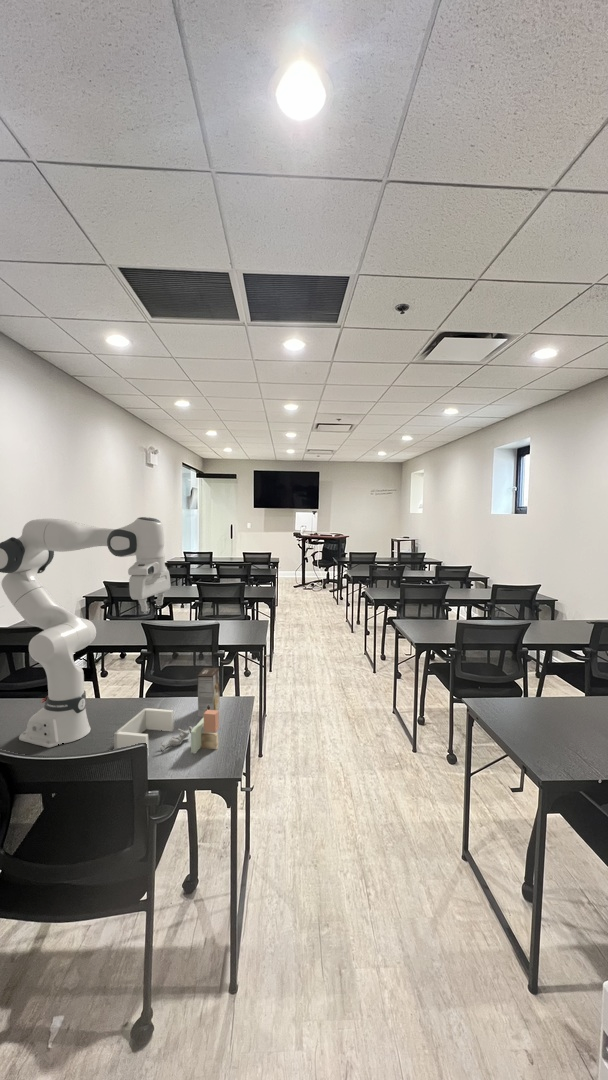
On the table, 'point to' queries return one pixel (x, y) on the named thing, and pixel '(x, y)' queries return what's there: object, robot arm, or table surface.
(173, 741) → the soldier figure
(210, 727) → the t-shaped crossbar
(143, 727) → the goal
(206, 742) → the tan wooden block
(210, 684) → the coffee box
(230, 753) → the table surface
